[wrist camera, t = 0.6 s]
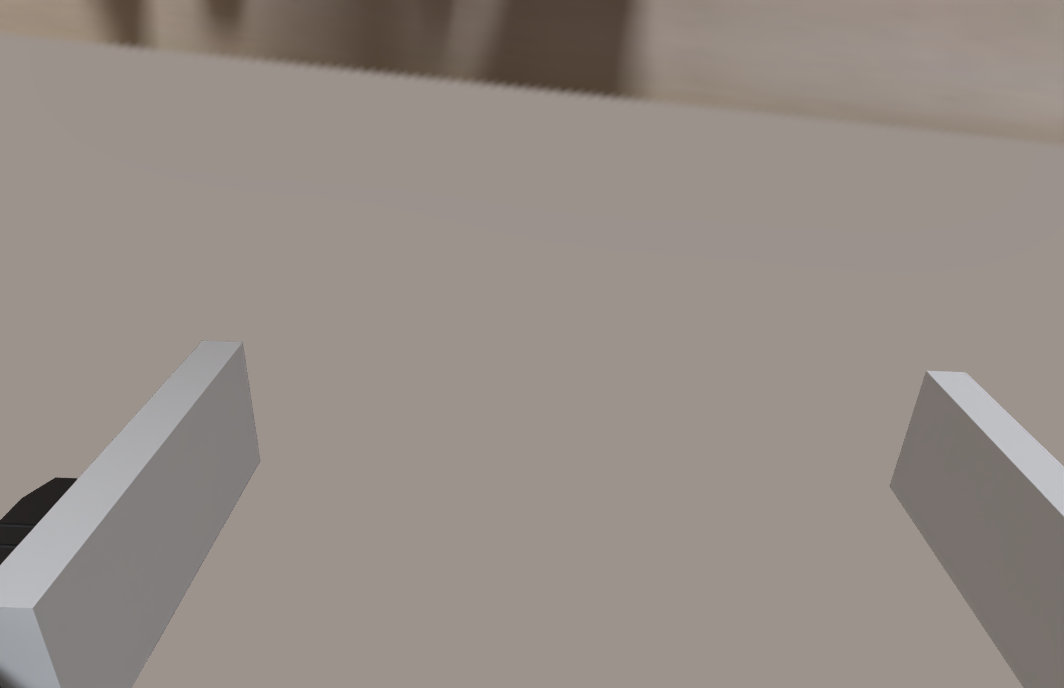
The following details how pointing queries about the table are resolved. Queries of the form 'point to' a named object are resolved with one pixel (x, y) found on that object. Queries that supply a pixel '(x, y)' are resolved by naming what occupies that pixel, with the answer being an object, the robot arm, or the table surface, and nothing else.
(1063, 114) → the table surface
